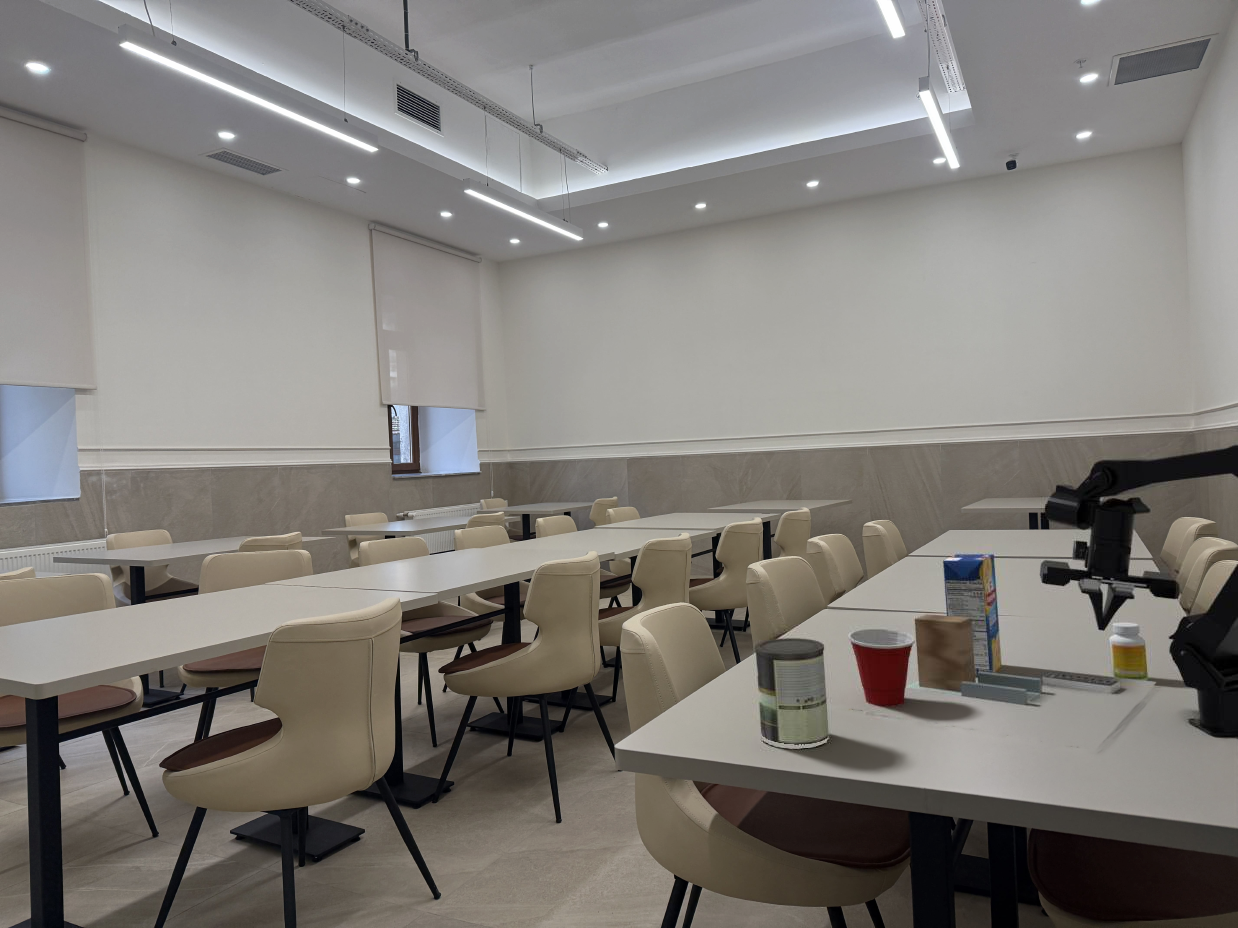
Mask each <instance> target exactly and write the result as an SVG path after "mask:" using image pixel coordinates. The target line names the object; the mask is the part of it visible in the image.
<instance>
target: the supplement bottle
mask: <svg viewBox="0 0 1238 928" xmlns="http://www.w3.org/2000/svg"><path fill="white" fill-rule="evenodd" d="M1112 632H1113V633H1114V634H1113V635H1111V636H1110V637H1109V639H1108V640H1109V655H1110V670H1111V677H1112V678H1118V679H1120V678H1121V679H1128V680H1137V681H1145V682H1147V681H1148V678H1149V674H1148V665H1147V664H1148V662H1147V650H1146V642H1145V641H1146V640H1145V638H1143V637H1142V636H1140V635H1139V634H1140V624H1138V623H1135V622H1134V623H1133V622H1122V621H1121V622H1120V621H1119V622H1113V623H1112Z"/></svg>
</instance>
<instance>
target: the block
mask: <svg viewBox="0 0 1238 928" xmlns="http://www.w3.org/2000/svg"><path fill="white" fill-rule="evenodd" d="M914 629H915V631H914V632H915V643H916V645H915V646H916V657H917V658H916V659H917V673H918V680H919V687H926V688H933V689H940V690H947V691H955V692H961V682H963V681H966V682H974V683H977V680H976V679H977V677H975V664H974V650H973V635H972V621H971V618H969V617H956V616H947V615H941V614H939V615H938V614H928V613H927V614H924V615H921V616H919V617H915V618H914Z"/></svg>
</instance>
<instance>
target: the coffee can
mask: <svg viewBox="0 0 1238 928" xmlns="http://www.w3.org/2000/svg"><path fill="white" fill-rule="evenodd" d="M754 651H755V658H756V660H755V662H756V674H757V675H756V676H757V688H758V689H757V690H758V692H757V693H758V702H759V703H758V705H759V721H760V734H762V736H763V737H765V738H766V739H768V740H771V741H774V742H778V743H784V744H794V745H799V744H801V745H802V744H804V745H805V744H812V743H817V742H821V741H823V740H825V739H827V738H828V736H829V737H830V735H829V734H830V732H829V721H828V704H827V702H828V701H827V687H826V671H825V656H824V655H825V654H824V651H825V645H824V643H822V642H820V641H818V640H815V639H810V638H809V639H808V638H796V637H795V638H793V637H792V638H791V637H790V638H788V637H787V638H776V639H775V638H774V639H769V640H764V641H760V642H758V643H757V644H755V645H754Z"/></svg>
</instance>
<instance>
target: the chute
mask: <svg viewBox="0 0 1238 928" xmlns="http://www.w3.org/2000/svg"><path fill="white" fill-rule="evenodd" d="M977 676H978V677H977V682H976V683H974V682H966V681H963V682H961V692H955V691H947V690H940V689H933V688H926V687H919V679H917V680H916V681H913V682H912V683H910V684H909V685H906V687H905V689H909V690H914V691H915V690H916V691H922V692H930V693H939V694H945V695H952V696H957V697H958V696H959V697H967V698H974V699H980V700H987V701H993V702H1002V703H1008V704H1015V705H1022V706H1026V705H1028V704H1029V703H1030V702H1031V701H1033V700H1034V699H1035V698H1037V697H1038V696H1039V695H1040V694H1042V693H1043V685H1042V684H1043V683H1042V678H1039V677H1031V676H1024V675H1023V676H1022V675H1012V674H1006V673H1005V674H1004V673H997V672H995V673H989V672H981V671H980V672H978V673H977Z"/></svg>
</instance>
